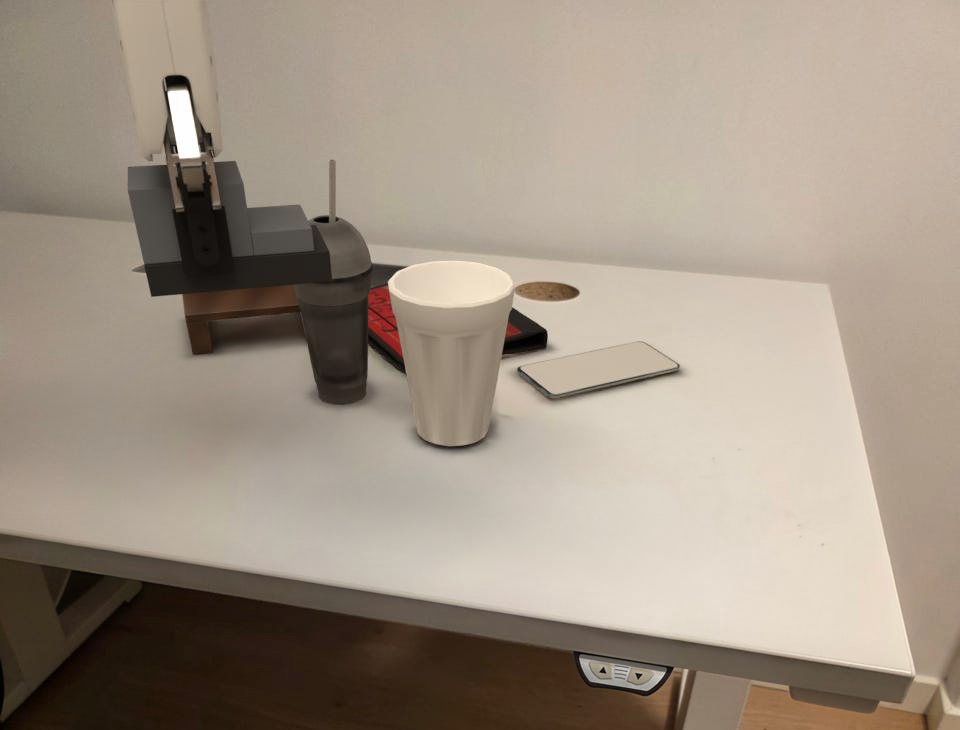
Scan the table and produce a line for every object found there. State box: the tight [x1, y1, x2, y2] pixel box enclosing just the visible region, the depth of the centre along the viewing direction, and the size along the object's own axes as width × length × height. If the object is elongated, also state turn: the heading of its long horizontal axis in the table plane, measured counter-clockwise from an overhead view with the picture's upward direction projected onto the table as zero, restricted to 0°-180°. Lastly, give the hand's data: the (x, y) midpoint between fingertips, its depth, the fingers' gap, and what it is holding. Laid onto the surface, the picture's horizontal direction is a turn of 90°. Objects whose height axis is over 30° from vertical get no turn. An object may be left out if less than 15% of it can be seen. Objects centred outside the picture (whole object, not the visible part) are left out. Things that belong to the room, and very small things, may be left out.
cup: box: [387, 260, 516, 447], centre depth 75 cm, size 10×10×13 cm
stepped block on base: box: [127, 160, 332, 298], centre depth 61 cm, size 12×6×6 cm, turn 106°
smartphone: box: [516, 340, 681, 399], centre depth 88 cm, size 7×1×15 cm
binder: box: [368, 282, 549, 372], centre depth 96 cm, size 16×2×21 cm
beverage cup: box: [293, 159, 374, 406], centre depth 78 cm, size 7×7×20 cm
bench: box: [181, 285, 301, 355], centre depth 93 cm, size 14×9×7 cm, turn 106°
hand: (206, 254), depth 61 cm, fingers closed on stepped block on base, 6 cm apart
